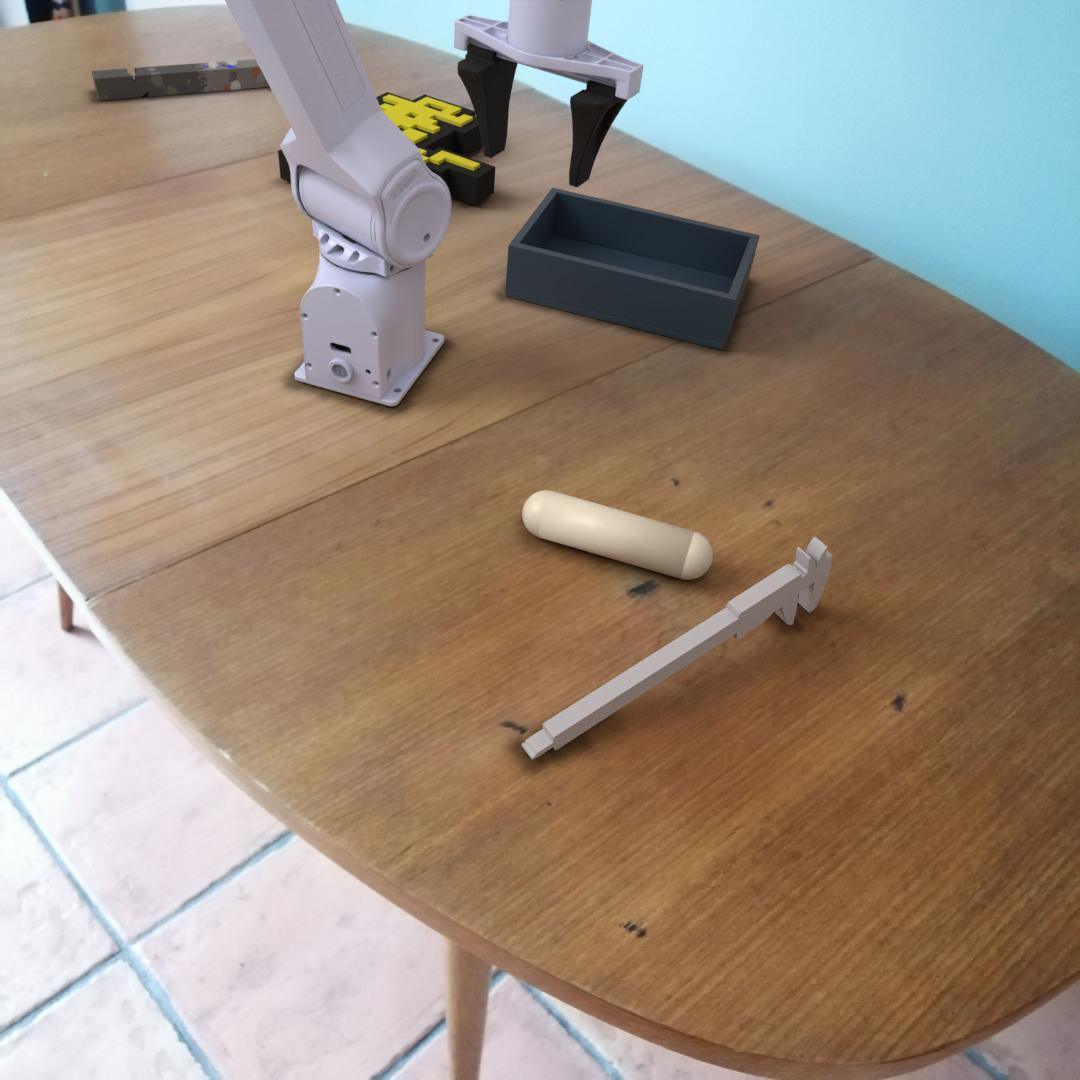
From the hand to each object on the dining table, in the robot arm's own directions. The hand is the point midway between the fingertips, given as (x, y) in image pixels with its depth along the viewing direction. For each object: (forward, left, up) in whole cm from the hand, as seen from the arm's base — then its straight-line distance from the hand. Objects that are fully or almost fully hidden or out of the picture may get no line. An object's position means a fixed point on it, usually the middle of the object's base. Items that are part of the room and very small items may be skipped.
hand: (536, 167), depth 78 cm
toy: (+15, +17, -10) cm, 24 cm away
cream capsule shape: (-28, -15, -10) cm, 34 cm away
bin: (+3, -8, -10) cm, 13 cm away
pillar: (+22, +45, -10) cm, 51 cm away
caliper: (-36, -21, -10) cm, 43 cm away
